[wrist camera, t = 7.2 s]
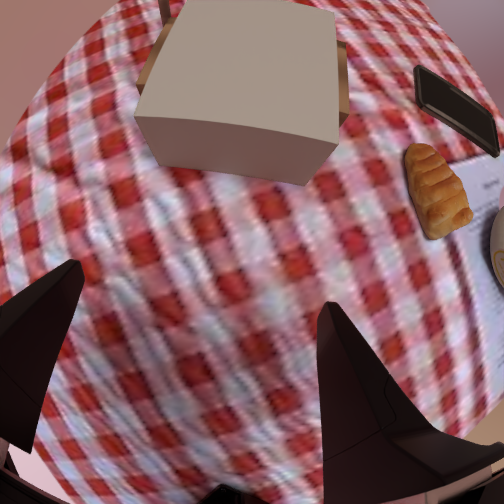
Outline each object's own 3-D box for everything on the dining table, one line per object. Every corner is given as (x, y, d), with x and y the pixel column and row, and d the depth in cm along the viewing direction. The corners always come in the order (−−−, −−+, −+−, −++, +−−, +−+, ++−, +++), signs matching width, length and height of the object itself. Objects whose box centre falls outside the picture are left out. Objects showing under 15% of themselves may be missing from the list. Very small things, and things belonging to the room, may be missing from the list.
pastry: (384, 156, 24) (405, 139, 21) (426, 142, 25) (446, 128, 22) (425, 247, 24) (451, 241, 20) (462, 222, 25) (487, 215, 21)
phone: (501, 158, 26) (419, 103, 25) (495, 161, 27) (414, 108, 26) (493, 114, 27) (415, 61, 26) (489, 117, 28) (411, 65, 27)
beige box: (304, 187, 23) (338, 144, 15) (159, 166, 22) (133, 116, 15) (311, 66, 25) (334, 12, 17) (196, 49, 24) (192, -8, 16)
